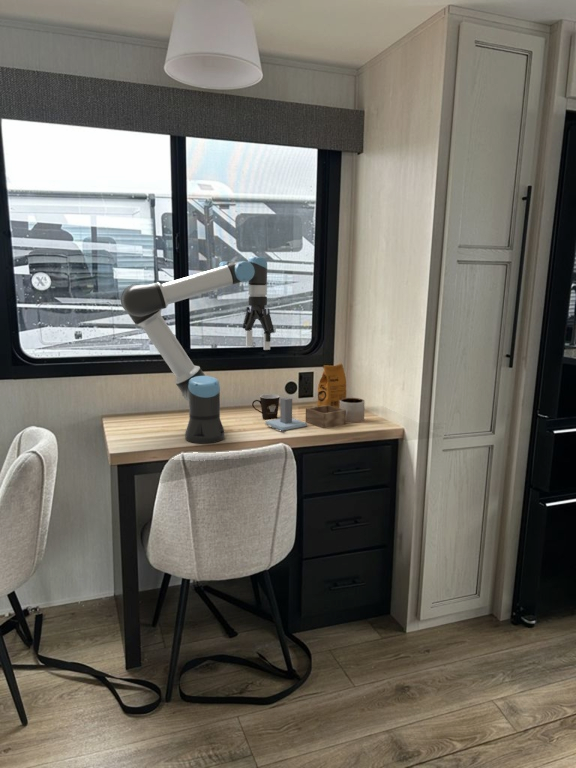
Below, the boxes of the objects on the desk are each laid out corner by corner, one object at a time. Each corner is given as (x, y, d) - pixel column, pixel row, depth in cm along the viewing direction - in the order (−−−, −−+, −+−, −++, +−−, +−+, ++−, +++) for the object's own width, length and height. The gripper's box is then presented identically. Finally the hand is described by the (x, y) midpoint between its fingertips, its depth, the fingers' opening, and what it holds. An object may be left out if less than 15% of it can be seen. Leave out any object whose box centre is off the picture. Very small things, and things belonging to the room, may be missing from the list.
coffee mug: (280, 416, 261) (280, 394, 259) (278, 421, 253) (278, 398, 251) (254, 415, 262) (254, 393, 261) (251, 420, 254) (251, 397, 252)
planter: (346, 425, 246) (346, 403, 245) (334, 419, 256) (335, 398, 255) (368, 423, 250) (369, 401, 249) (356, 417, 260) (357, 396, 259)
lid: (282, 433, 234) (282, 403, 231) (265, 427, 244) (265, 397, 241) (307, 429, 241) (307, 399, 238) (289, 423, 251) (289, 394, 248)
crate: (323, 430, 238) (323, 414, 237) (305, 424, 248) (305, 408, 247) (345, 426, 245) (345, 410, 244) (327, 420, 255) (327, 404, 253)
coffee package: (314, 410, 274) (315, 364, 270) (336, 407, 280) (337, 362, 276) (326, 414, 265) (327, 367, 261) (348, 411, 271) (349, 365, 267)
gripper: (282, 296, 229) (282, 350, 233) (249, 294, 249) (249, 344, 253) (266, 297, 225) (266, 351, 229) (234, 294, 245) (234, 345, 249)
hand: (257, 347), depth 241 cm, fingers open, 13 cm apart
